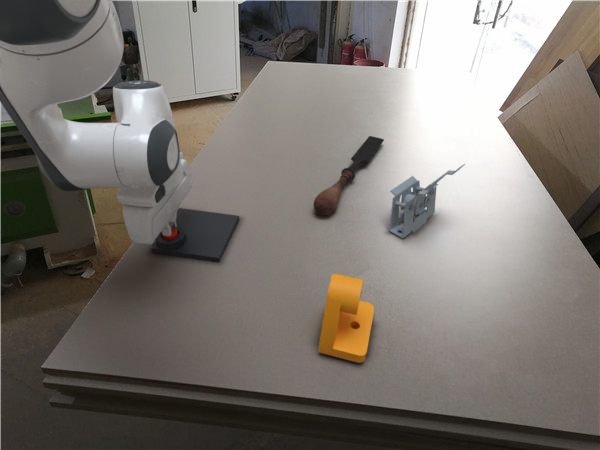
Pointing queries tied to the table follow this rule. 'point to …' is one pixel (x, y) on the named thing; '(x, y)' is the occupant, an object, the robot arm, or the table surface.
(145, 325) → the table surface
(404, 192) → the bracket
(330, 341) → the bracket
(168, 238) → the button
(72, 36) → the robot arm
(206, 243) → the scale
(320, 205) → the chisel
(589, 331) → the table surface
